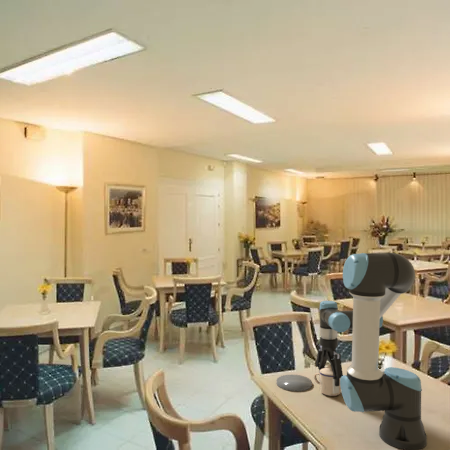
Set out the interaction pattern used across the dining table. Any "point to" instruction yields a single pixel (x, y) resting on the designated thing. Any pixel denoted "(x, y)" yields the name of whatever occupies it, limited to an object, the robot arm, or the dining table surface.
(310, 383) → the pad
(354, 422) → the dining table surface
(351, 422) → the dining table surface
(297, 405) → the dining table surface
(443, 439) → the dining table surface
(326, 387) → the teacup with lid
